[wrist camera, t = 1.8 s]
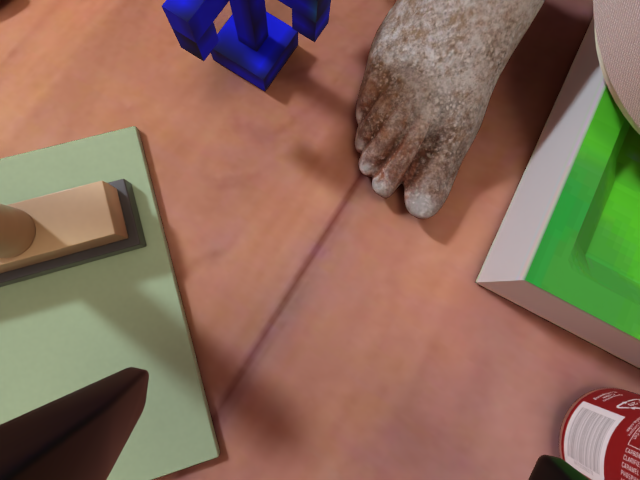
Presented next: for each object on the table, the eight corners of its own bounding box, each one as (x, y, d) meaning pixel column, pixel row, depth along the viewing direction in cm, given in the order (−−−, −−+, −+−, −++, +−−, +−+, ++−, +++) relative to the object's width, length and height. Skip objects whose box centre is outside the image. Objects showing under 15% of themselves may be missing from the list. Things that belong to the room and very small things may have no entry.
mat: (220, 453, 21) (218, 457, 20) (-22, 536, 19) (-30, 542, 19) (138, 129, 23) (135, 125, 22) (-83, 183, 22) (-92, 180, 21)
